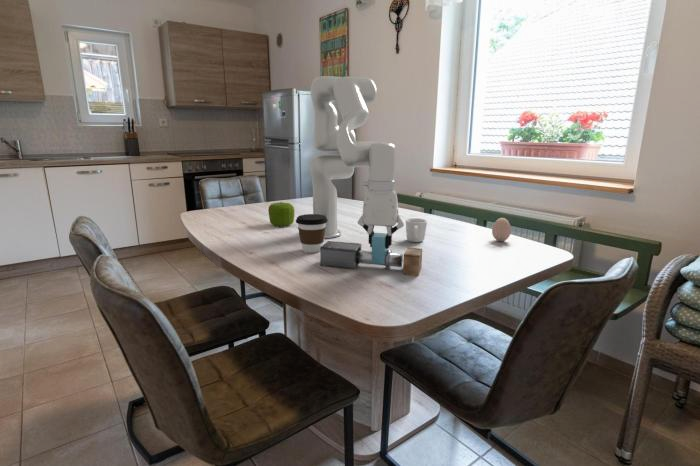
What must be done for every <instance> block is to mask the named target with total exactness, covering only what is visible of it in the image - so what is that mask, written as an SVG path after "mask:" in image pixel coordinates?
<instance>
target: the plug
mask: <svg viewBox="0 0 700 466" xmlns="http://www.w3.org/2000/svg"><path fill="white" fill-rule="evenodd" d="M374 233H375V234H374V235H373V236H372V247H371V250H362V249H361V250H357V251H356V263H360V264H361V265H362V264H364V265H373V266H385V269H387V270H390V269H391V268H392V267H394V268H403V260H404V253H395V252H393V251H392V249H389V248H388V249H386V235H387V233H383V232H374Z"/></svg>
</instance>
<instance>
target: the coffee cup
mask: <svg viewBox="0 0 700 466" xmlns="http://www.w3.org/2000/svg"><path fill="white" fill-rule="evenodd" d="M327 222H328V219H327V218H326V216H324V215H320V214H313V213H308V214H306V213H305V214H300V215H298V216H297V217H296V219H295V223H296V224H297V227H298V233H299V238H300V243H301V247H302V250H303V252H305V253H308V254H315V253H320V247H321V246H323V245H324V240H325V238H324V235H325V228H326V226H325V225H326V223H327Z"/></svg>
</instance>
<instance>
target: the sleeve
mask: <svg viewBox="0 0 700 466" xmlns="http://www.w3.org/2000/svg"><path fill="white" fill-rule="evenodd" d="M357 250H362V243H357V242H346V241H345V242H343V241H332V240H327V242H325V243H323V245H322V246H321V247H320V252H319V253H320V256H319V257H320V259H319V260H320V262H319V264H320V267H327V268H338V269H348V270H356V269H357V268H358V266H359V265H360V264H361V263H356V251H357Z"/></svg>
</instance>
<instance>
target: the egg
mask: <svg viewBox="0 0 700 466" xmlns="http://www.w3.org/2000/svg"><path fill="white" fill-rule="evenodd" d="M511 227H512V226H511V224H510V222H509V220H508V219H506V218H505V217H499V218H497V220H496V221H494V223H493V225H492V229H491V234H492V237H493V239H494V240H496V241H497V242H499V243H500V242H501V243H502V242H505V241H507V240H508V239H509V237H510V236H511V232H512V229H511Z"/></svg>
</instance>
